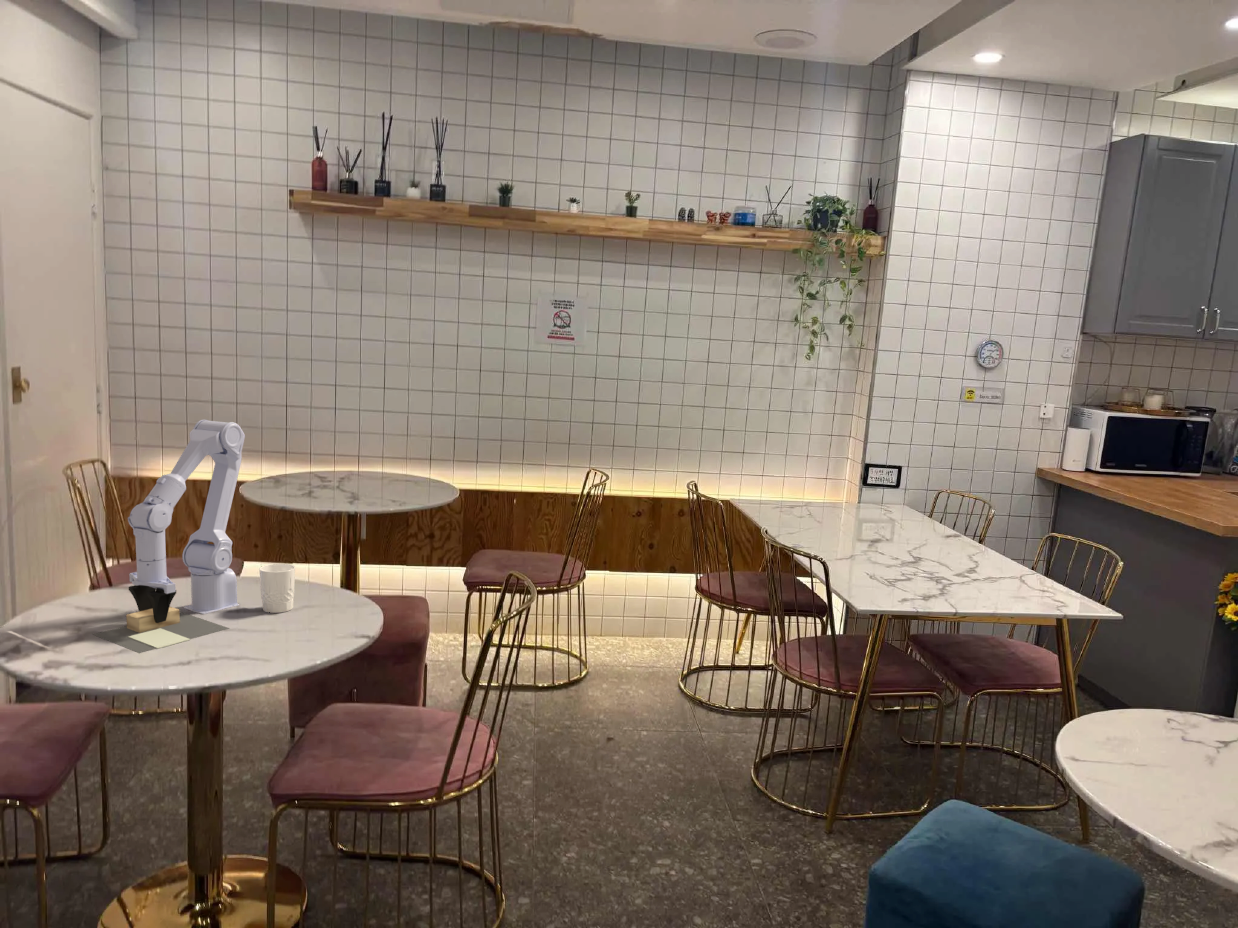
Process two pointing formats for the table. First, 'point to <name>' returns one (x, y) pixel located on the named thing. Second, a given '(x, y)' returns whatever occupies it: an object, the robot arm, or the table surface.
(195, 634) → the rubber mat
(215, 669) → the table surface
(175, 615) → the oak block
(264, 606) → the white cup
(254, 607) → the table surface
